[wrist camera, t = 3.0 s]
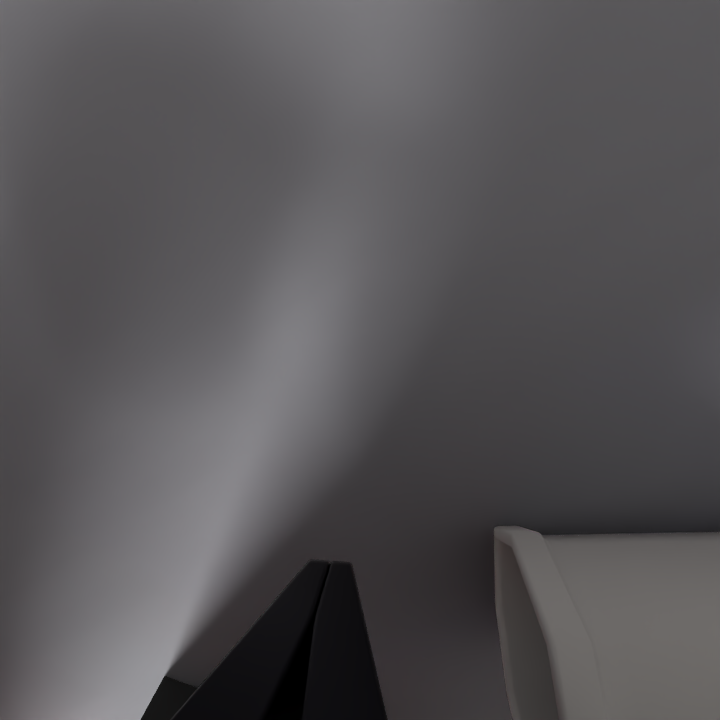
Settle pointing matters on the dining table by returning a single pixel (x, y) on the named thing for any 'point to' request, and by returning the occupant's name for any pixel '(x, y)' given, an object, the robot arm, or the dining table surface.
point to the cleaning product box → (168, 699)
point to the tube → (609, 624)
